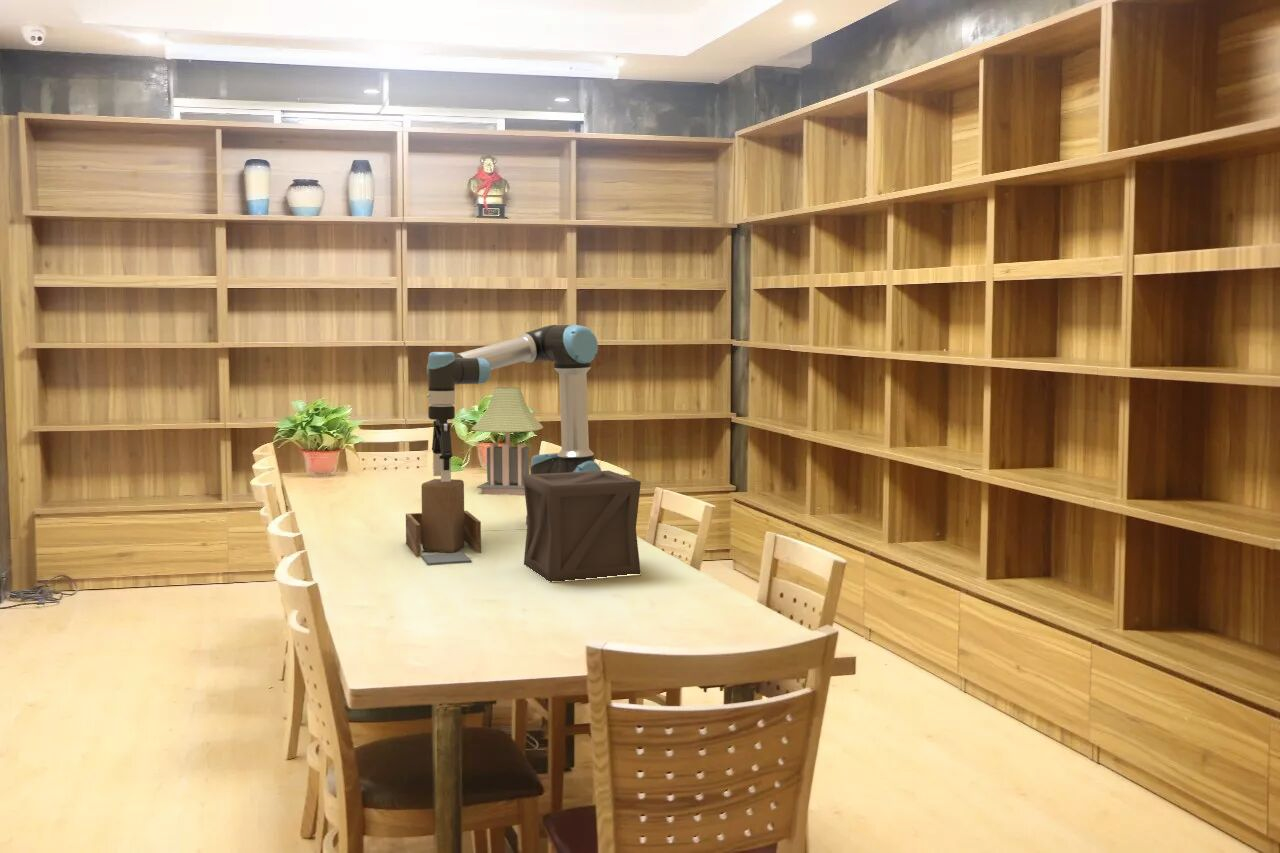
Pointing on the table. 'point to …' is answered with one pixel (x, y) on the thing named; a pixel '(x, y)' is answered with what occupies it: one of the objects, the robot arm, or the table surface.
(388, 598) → the table surface
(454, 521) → the block
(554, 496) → the wooden crate
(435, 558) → the pad
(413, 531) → the cubby
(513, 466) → the desk lamp
